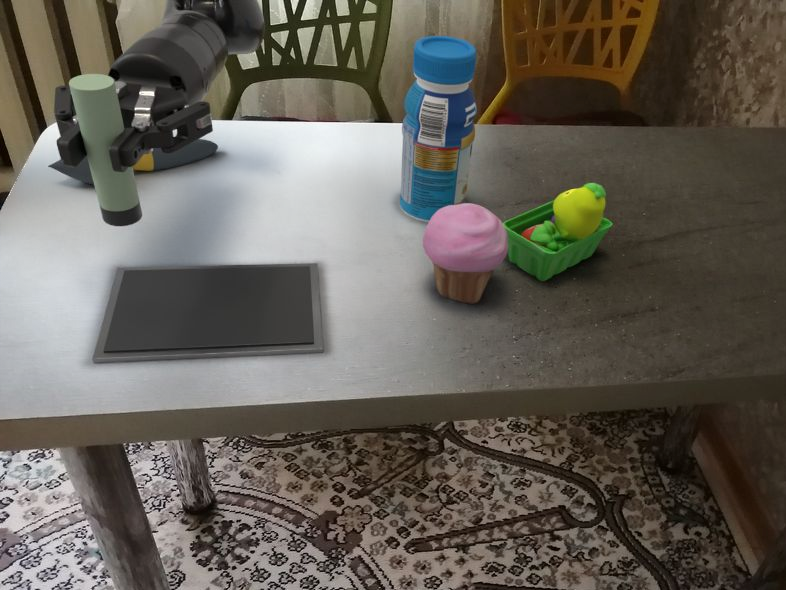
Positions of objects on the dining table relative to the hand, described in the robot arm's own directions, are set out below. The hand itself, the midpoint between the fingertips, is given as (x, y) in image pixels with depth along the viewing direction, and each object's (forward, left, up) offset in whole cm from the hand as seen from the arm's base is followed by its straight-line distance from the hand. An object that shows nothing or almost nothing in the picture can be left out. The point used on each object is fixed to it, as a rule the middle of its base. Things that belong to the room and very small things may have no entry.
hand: (91, 158), depth 58 cm
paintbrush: (+9, +31, -18) cm, 37 cm away
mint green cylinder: (+2, +2, -7) cm, 8 cm away
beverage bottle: (+38, +9, -18) cm, 43 cm away
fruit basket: (+45, -7, -18) cm, 49 cm away
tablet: (+8, 0, -18) cm, 19 cm away
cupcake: (+32, -7, -18) cm, 37 cm away
